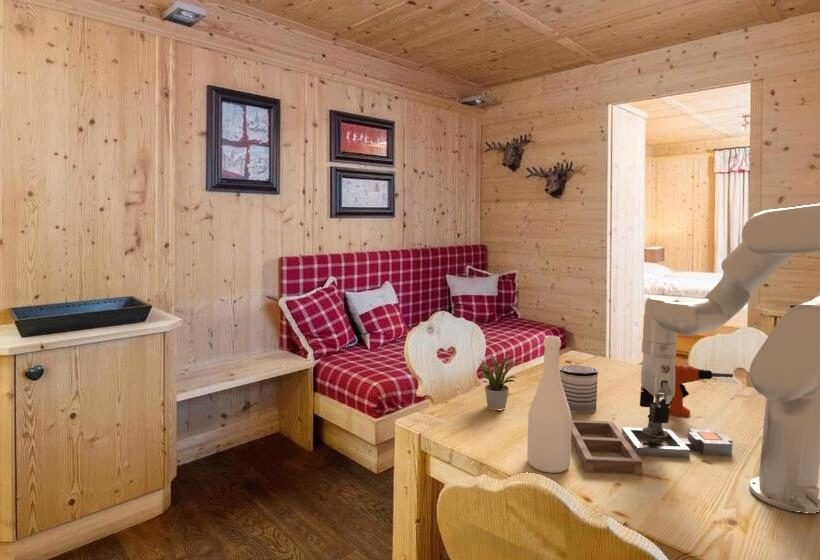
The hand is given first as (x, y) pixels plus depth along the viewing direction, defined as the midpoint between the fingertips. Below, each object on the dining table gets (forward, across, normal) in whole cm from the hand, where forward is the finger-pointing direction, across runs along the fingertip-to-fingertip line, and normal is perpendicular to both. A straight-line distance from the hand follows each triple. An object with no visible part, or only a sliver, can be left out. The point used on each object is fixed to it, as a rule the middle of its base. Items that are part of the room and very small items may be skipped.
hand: (653, 414), depth 128 cm
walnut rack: (+8, -5, +14) cm, 16 cm away
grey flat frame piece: (+8, -1, -6) cm, 10 cm away
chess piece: (+8, -1, 0) cm, 8 cm away
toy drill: (+8, +20, -18) cm, 29 cm away
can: (+9, +25, +12) cm, 30 cm away
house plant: (+9, +22, +36) cm, 43 cm away
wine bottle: (+8, -13, +27) cm, 31 cm away
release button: (+7, -1, -13) cm, 15 cm away
